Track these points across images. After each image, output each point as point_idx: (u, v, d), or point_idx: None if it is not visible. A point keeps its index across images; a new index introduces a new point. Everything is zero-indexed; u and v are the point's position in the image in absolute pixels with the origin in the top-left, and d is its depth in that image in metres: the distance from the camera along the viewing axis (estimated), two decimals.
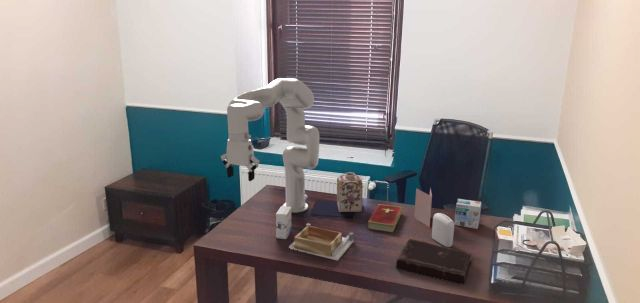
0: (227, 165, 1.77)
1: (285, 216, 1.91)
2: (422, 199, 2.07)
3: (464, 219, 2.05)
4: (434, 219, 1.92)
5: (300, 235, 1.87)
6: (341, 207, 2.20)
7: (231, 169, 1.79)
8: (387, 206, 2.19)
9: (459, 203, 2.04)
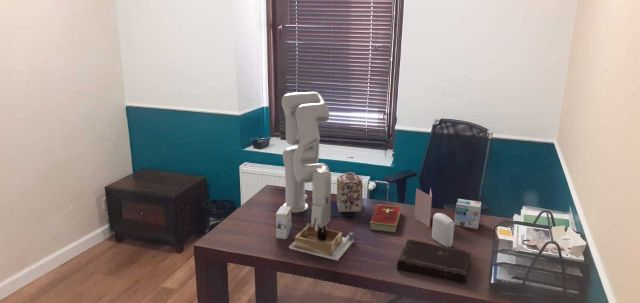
0: (323, 229, 1.86)
1: (285, 216, 1.91)
2: (422, 199, 2.07)
3: (464, 219, 2.05)
4: (434, 219, 1.92)
5: (300, 235, 1.87)
6: (341, 207, 2.20)
7: None
8: (386, 206, 2.19)
9: (459, 203, 2.04)
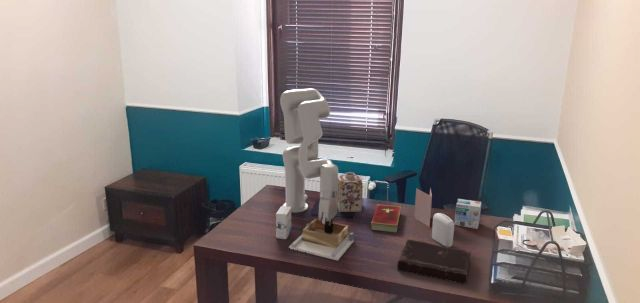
0: (330, 223, 1.92)
1: (285, 216, 1.91)
2: (422, 199, 2.07)
3: (464, 219, 2.05)
4: (434, 219, 1.92)
5: (308, 228, 1.93)
6: (341, 207, 2.20)
7: None
8: (386, 206, 2.19)
9: (459, 203, 2.04)
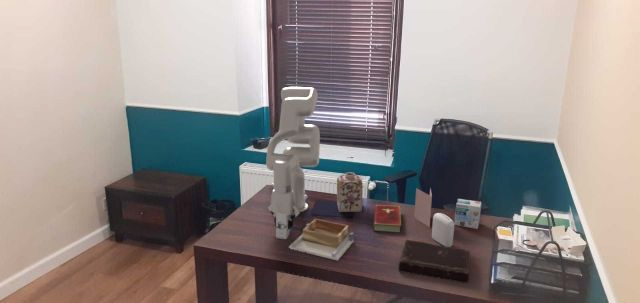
0: None
1: (285, 216, 1.91)
2: (422, 199, 2.07)
3: (464, 219, 2.05)
4: (434, 219, 1.92)
5: (308, 228, 1.93)
6: (341, 207, 2.20)
7: None
8: (385, 206, 2.19)
9: (459, 203, 2.04)
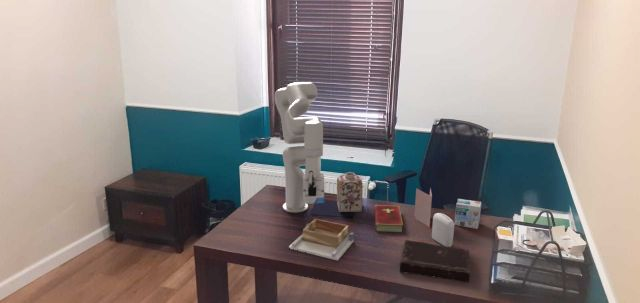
0: (315, 184, 1.83)
1: (303, 179, 1.84)
2: (422, 199, 2.07)
3: (464, 219, 2.05)
4: (434, 219, 1.92)
5: (308, 228, 1.93)
6: (341, 207, 2.20)
7: None
8: (385, 206, 2.19)
9: (459, 203, 2.04)
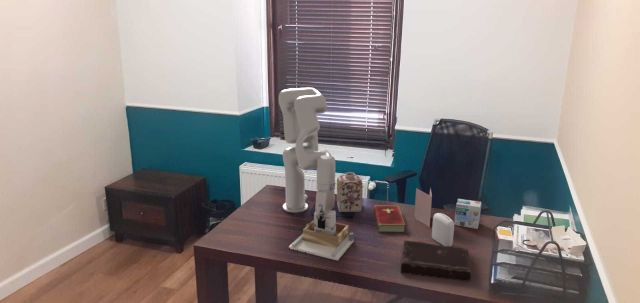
0: (323, 218, 1.85)
1: (314, 214, 1.88)
2: (422, 199, 2.07)
3: (464, 219, 2.05)
4: (434, 219, 1.92)
5: (308, 228, 1.93)
6: (341, 207, 2.20)
7: None
8: (384, 206, 2.19)
9: (459, 203, 2.04)
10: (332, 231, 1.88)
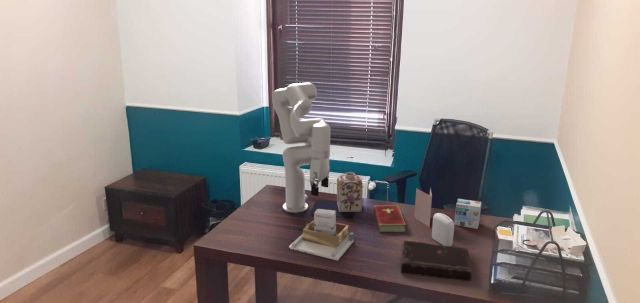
0: (317, 185, 1.85)
1: (314, 214, 1.89)
2: (422, 199, 2.07)
3: (464, 219, 2.05)
4: (434, 219, 1.92)
5: (308, 228, 1.93)
6: (341, 207, 2.20)
7: None
8: (384, 206, 2.18)
9: (459, 203, 2.04)
10: (332, 231, 1.88)
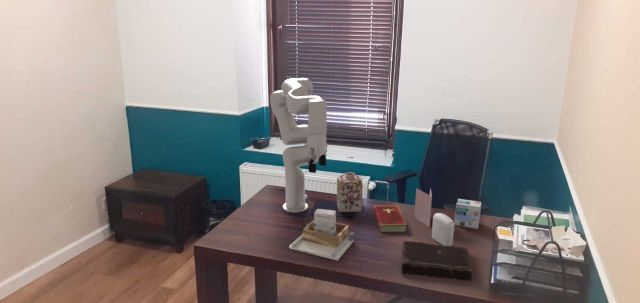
0: (314, 161, 1.84)
1: (314, 214, 1.89)
2: (422, 199, 2.07)
3: (464, 219, 2.05)
4: (434, 219, 1.92)
5: (308, 227, 1.93)
6: (341, 207, 2.20)
7: None
8: (384, 206, 2.18)
9: (459, 203, 2.04)
10: (332, 231, 1.88)
